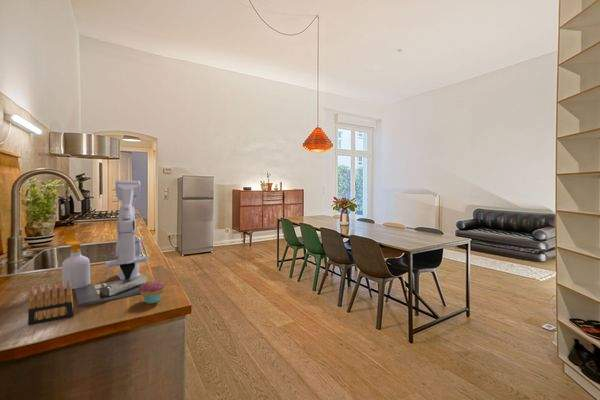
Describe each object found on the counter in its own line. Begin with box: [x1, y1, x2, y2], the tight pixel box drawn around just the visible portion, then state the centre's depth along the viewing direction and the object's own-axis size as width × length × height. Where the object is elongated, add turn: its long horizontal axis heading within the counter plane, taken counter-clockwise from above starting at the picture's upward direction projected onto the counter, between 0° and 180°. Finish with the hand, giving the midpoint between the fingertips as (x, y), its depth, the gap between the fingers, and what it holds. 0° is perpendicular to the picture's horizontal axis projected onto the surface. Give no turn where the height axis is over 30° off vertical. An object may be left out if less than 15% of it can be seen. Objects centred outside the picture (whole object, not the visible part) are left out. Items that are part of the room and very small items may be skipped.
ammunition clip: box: [27, 280, 75, 327], centre depth 89 cm, size 11×2×12 cm, turn 125°
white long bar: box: [99, 274, 148, 298], centre depth 111 cm, size 18×4×3 cm, turn 159°
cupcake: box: [139, 269, 166, 304], centre depth 104 cm, size 9×8×12 cm
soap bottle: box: [61, 226, 91, 290], centre depth 117 cm, size 9×9×25 cm
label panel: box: [74, 279, 145, 308], centre depth 112 cm, size 18×22×2 cm
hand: (127, 281), depth 117 cm, fingers closed
